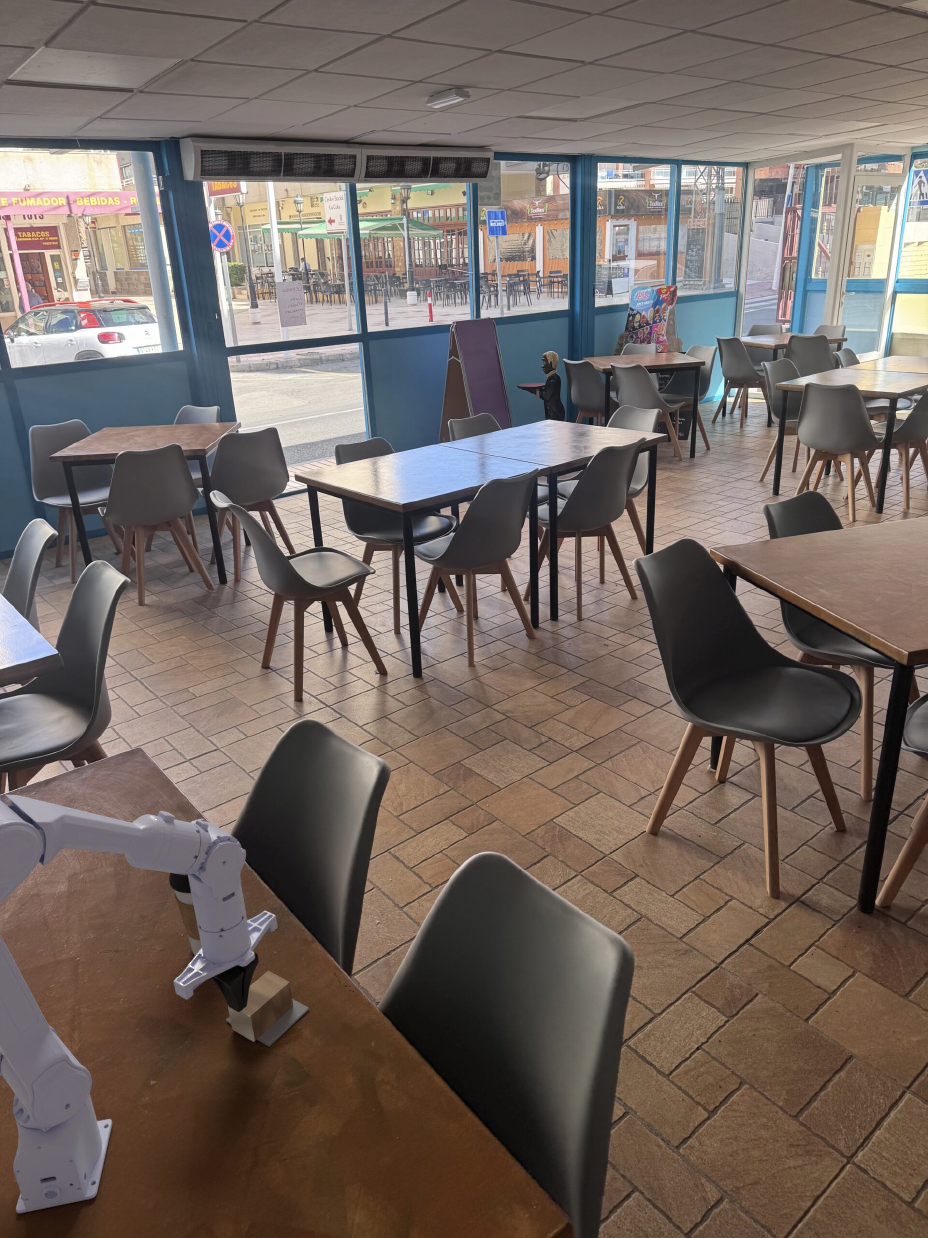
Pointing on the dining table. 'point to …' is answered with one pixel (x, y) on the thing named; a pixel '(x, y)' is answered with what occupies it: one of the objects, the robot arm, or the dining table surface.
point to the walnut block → (262, 1006)
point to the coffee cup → (186, 908)
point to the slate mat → (281, 1023)
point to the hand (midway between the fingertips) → (237, 1006)
